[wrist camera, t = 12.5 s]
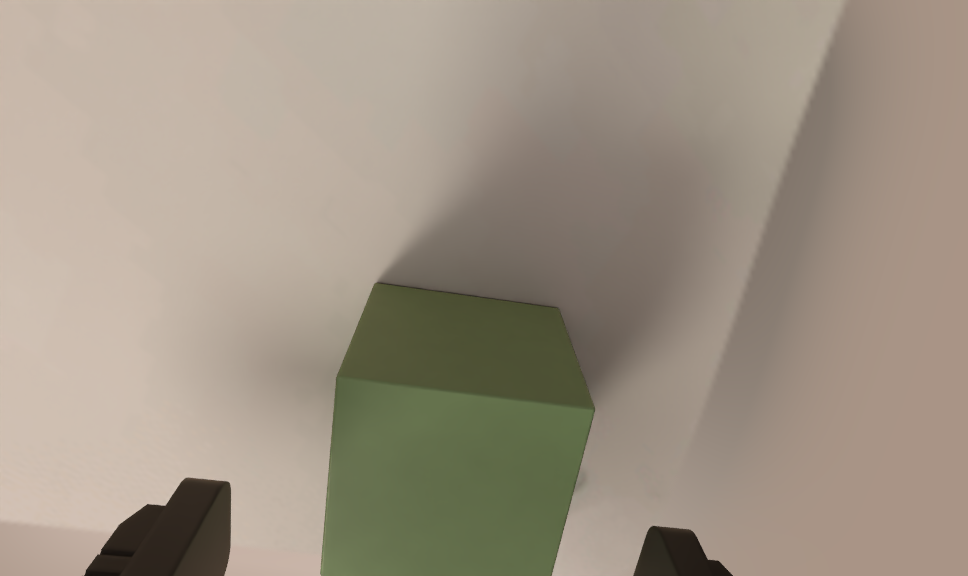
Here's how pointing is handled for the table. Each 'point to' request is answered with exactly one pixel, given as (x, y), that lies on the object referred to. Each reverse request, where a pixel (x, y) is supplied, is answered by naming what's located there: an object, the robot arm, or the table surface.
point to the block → (453, 438)
